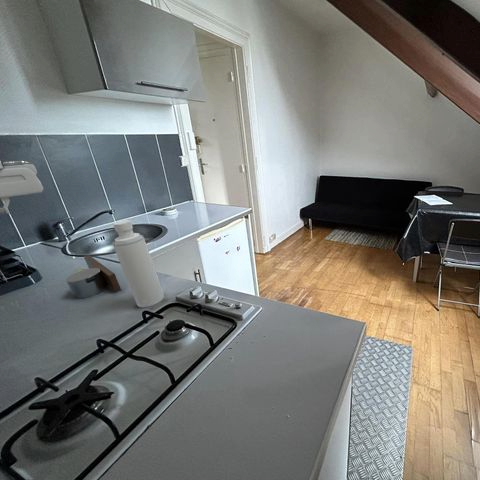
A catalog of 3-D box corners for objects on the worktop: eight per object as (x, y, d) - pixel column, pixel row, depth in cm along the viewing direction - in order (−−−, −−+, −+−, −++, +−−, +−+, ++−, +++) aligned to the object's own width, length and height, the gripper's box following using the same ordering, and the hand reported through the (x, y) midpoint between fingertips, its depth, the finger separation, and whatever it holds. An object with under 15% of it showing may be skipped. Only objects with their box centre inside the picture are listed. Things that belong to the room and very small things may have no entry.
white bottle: (166, 300, 73) (136, 215, 63) (138, 311, 69) (102, 222, 60) (162, 290, 78) (134, 210, 68) (135, 300, 74) (102, 216, 65)
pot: (81, 302, 75) (72, 284, 72) (69, 293, 80) (60, 276, 77) (113, 288, 81) (106, 271, 79) (99, 281, 86) (92, 265, 84)
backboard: (115, 292, 79) (108, 275, 76) (90, 271, 93) (83, 256, 91) (121, 290, 80) (114, 273, 77) (95, 269, 94) (88, 254, 92)
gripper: (30, 159, 77) (50, 204, 83) (-91, 167, 62) (-57, 222, 68) (33, 160, 74) (54, 207, 79) (-94, 169, 59) (-58, 226, 64)
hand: (2, 214), depth 73 cm, fingers closed
